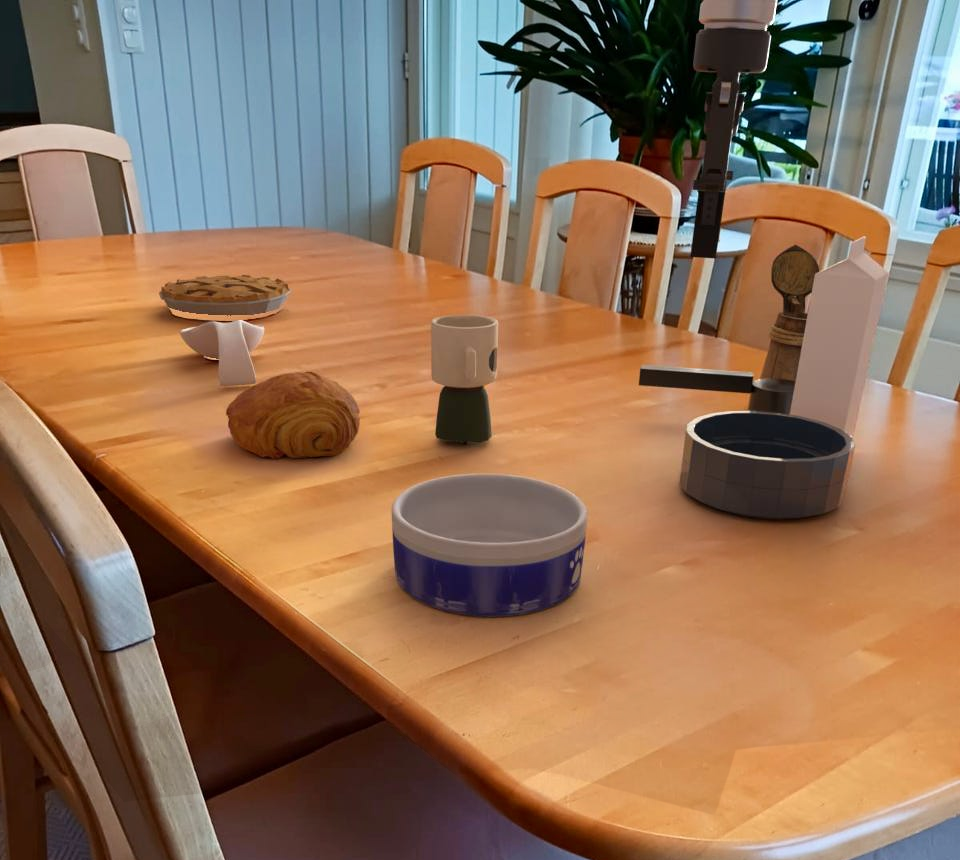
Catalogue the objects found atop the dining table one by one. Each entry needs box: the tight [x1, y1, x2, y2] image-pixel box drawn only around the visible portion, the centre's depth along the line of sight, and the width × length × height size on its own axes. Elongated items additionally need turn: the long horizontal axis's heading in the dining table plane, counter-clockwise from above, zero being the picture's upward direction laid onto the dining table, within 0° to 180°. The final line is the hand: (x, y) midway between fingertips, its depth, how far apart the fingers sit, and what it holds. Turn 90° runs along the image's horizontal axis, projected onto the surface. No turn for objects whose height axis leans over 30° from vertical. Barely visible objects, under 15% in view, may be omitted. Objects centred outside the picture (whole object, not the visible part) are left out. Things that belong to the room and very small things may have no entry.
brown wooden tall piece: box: [759, 244, 820, 382], centre depth 121 cm, size 9×14×18 cm, turn 178°
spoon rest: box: [179, 320, 265, 387], centre depth 133 cm, size 24×12×7 cm, turn 19°
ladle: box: [638, 364, 795, 415], centre depth 115 cm, size 19×6×6 cm, turn 77°
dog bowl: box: [391, 473, 588, 618], centre depth 77 cm, size 15×15×6 cm
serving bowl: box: [678, 410, 856, 520], centre depth 94 cm, size 16×16×6 cm
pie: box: [158, 274, 292, 316], centre depth 167 cm, size 22×22×5 cm
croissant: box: [225, 371, 361, 460], centre depth 106 cm, size 14×16×8 cm
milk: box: [790, 236, 890, 439], centre depth 102 cm, size 6×6×22 cm
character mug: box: [430, 314, 499, 446], centre depth 105 cm, size 11×7×13 cm, turn 9°
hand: (705, 249), depth 110 cm, fingers open, 13 cm apart
